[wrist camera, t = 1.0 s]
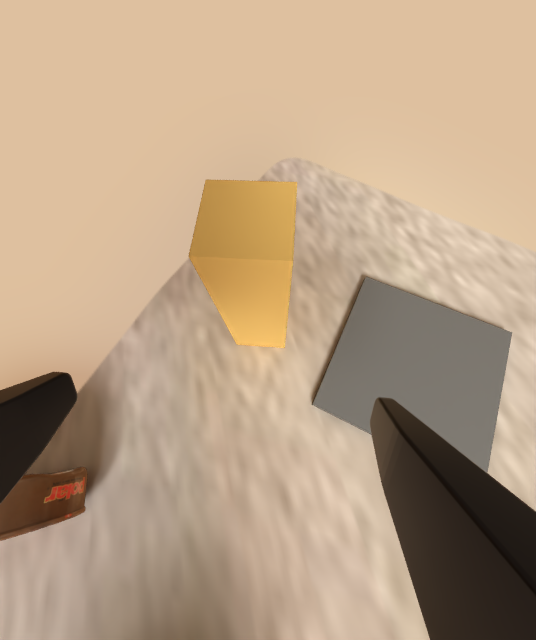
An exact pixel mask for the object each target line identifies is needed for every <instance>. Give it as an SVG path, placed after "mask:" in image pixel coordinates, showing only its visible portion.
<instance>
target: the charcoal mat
mask: <svg viewBox="0 0 536 640" xmlns="http://www.w3.org/2000/svg"><path fill="white" fill-rule="evenodd" d="M511 336H512V332H509V331H506V330H504V329H501V328H499V327H496V326H493V325H491V324H488V323H486V322H483V321H480V320H478V319H475V318H473V317H470V316H467V315H465V314H462V313H460V312H457V311H454V310H452V309H449V308H447V307H444V306H441V305H439V304H436V303H434V302H431V301H428V300H426V299H423V298H421V297H418V296H415V295H413V294H410V293H408V292H405V291H402V290H400V289H397V288H395V287H392V286H389V285H387V284H384V283H382V282H379V281H376V280H374V279H371V278H369V277H366V278H365V279H364V281H363V284H362V286H361V288H360V291H359V293H358V296H357V298H356V300H355V303H354V305H353V308H352V310H351V312H350V315H349V317H348V320H347V322H346V324H345V327H344V329H343V332H342V334H341V336H340V339H339V341H338V344H337V346H336V348H335V351H334V353H333V356H332V358H331V360H330V363H329V365H328V368H327V370H326V372H325V375H324V377H323V380H322V382H321V384H320V387H319V389H318V392H317V394H316V396H315V399H314V401H313V404H312V405H314V406H316V407H318V408H320V409H322V410H324V411H326V412H328V413H330V414H332V415H334V416H336V417H338V418H339V419H341V420H343V421H345V422H347V423H349V424H351V425H353V426H355V427H357V428H359V429H361V430H363V431H365V432H367V433H369V434H371V429H370V418H371V414H372V410H373V406H374V403H375V400H376V398H378V397H385V398H392V399H394V400H395V401H397V402H398V403H399V404H400V405H402V406H403V407H404V408H406V409H407V410H408V411H409V412H411V413H412V414H413V415H414V416H416V417H417V418H418V419H419V420H421V421H422V422H423V423H424V424H426V425H427V426H428V427H430V428H431V429H432V430H433V431H435V432H436V433H437V434H438V435H440V436H441V437H442V438H443V439H445V440H446V441H447V442H448V443H450V444H451V445H452V446H454V447H455V448H456V449H457V450H459V451H460V452H461V453H462V454H464V455H465V456H466V457H467V458H469V459H470V460H471V461H472V462H474V463H475V464H476V465H478V466H479V467H480V468H481V469H483V470H484V471H485V472H486V473H487V471H488V466H489V460H490V455H491V449H492V443H493V438H494V432H495V426H496V421H497V415H498V409H499V404H500V398H501V392H502V387H503V381H504V375H505V370H506V364H507V359H508V353H509V347H510V342H511ZM371 435H372V434H371Z"/></svg>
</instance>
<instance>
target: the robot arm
mask: <svg viewBox="0 0 536 640" xmlns="http://www.w3.org/2000/svg"><path fill="white" fill-rule="evenodd" d="M76 401H77V392H76V389H75V386H74V383H73V380H72V378H71V376H70V375H69V374H68V373H63V372H52V373H49V374H46V375H43V376H40V377H37V378H34V379H31V380H29V381H26V382H23V383H20V384H17V385H14V386H12V387H9V388H6V389H3V390H0V504H1V503H2V502H3V500H4V499H5V498H6V497H7V495H8V494H9V493H10V492H11V490H12V489H13V488H14V487H15V485H16V484H17V483H18V482H19V480H20V479H21V478H22V477H23V475H24V474H25V473H26V472H27V470H28V469H29V468H30V467H31V465H32V464H33V463H34V462H35V460H36V459H37V458H38V456H39V455H40V454H41V453H42V451H43V450H44V448H45V447H46V446H47V444H48V443H49V441H50V440H51V438H52V437H53V435H54V434H55V433H56V431H57V430H58V428H59V427H60V425H61V424H62V422H63V421H64V419H65V418H66V416H67V415H68V413H69V412H70V410H71V409H72V407H73V406H74V404H75V403H76ZM370 429H371V434H372V439H373V444H374V449H375V454H376V459H377V463H378V468H379V473H380V478H381V482H382V486H383V490H384V493H385V497H386V500H387V503H388V506H389V509H390V513H391V516H392V519H393V522H394V525H395V529H396V532H397V535H398V538H399V541H400V545H401V548H402V551H403V554H404V557H405V561H406V564H407V567H408V570H409V573H410V577H411V580H412V583H413V586H414V589H415V593H416V596H417V599H418V602H419V605H420V609H421V612H422V615H423V618H424V621H425V625H426V628H427V631H428V634H429V638H430V640H536V511H534V510H533V509H532V508H531V507H529V506H528V505H527V504H526V503H524V502H523V501H522V500H520V499H519V498H518V497H517V496H515V495H514V494H513V493H512V492H510V491H509V490H508V489H507V488H505V487H504V486H503V485H502V484H500V483H499V482H498V481H496V480H495V479H494V478H493V477H491V476H490V475H489V474H488V473H486V472H485V471H484V470H483V469H481V468H480V467H479V466H478V465H476V464H475V463H474V462H472V461H471V460H470V459H469V458H467V457H466V456H465V455H464V454H462V453H461V452H460V451H459V450H457V449H456V448H455V447H454V446H452V445H451V444H450V443H448V442H447V441H446V440H445V439H443V438H442V437H441V436H440V435H438V434H437V433H436V432H435V431H433V430H432V429H431V428H430V427H428V426H427V425H426V424H424V423H423V422H422V421H421V420H419V419H418V418H417V417H416V416H414V415H413V414H412V413H411V412H409V411H408V410H407V409H406V408H404V407H403V406H402V405H400V404H399V403H398V402H397V401H395V400H394V399H392V398H385V397H378V398H376V400H375V403H374V406H373V410H372V414H371V418H370Z"/></svg>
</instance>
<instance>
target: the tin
mask: <svg viewBox="0 0 536 640" xmlns="http://www.w3.org/2000/svg"><path fill="white" fill-rule="evenodd" d="M86 484H87V470H86V468H84V467H79V468H76V469H72V470H68V471H63V472H57V473H52V474H30V475H23V477H22V478H21V479H20V480H19V482H18V483H17V484H16V485H15V487H14V488H13V489H12V490H11V492H10V493H9V494H8V495H7V497H6V498H5V499H4V500H3V502H2V503H1V504H0V541H2V540H6V539H9V538H12V537H15V536H18V535H22V534H26V533H29V532H32V531H35V530H38V529H41V528H44V527H47V526H50V525H53V524H56V523H59V522H62V521H65V520H67V519H70V518H73V517H75V516H77V515H79V514H81V513H83V512H85V506H84V502H85V493H86Z"/></svg>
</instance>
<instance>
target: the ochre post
mask: <svg viewBox="0 0 536 640" xmlns="http://www.w3.org/2000/svg"><path fill="white" fill-rule="evenodd" d="M296 194H297V182H273V181H236V180H235V181H234V180H206V181H205V185H204V190H203V194H202V199H201V203H200V208H199V212H198V217H197V221H196V225H195V230H194V234H193V239H192V244H191V248H190V252H189V258H190V260H191V262H192V263H193V265H194V267H195V269H196V271H197V273H198V274H199V276H200V278H201V280H202V282H203V284H204V285H205V287H206V289H207V291H208V293H209V295H210V296H211V298H212V300H213V302H214V304H215V305H216V307H217V309H218V311H219V313H220V315H221V316H222V318H223V320H224V322H225V324H226V326H227V327H228V329H229V331H230V333H231V335H232V337H233V338H234V340H235V342H236V344H237V345H249V346H264V347H279V348H285V339H286V329H287V319H288V309H289V298H290V288H291V278H292V267H293V253H294V234H295V214H296Z"/></svg>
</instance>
